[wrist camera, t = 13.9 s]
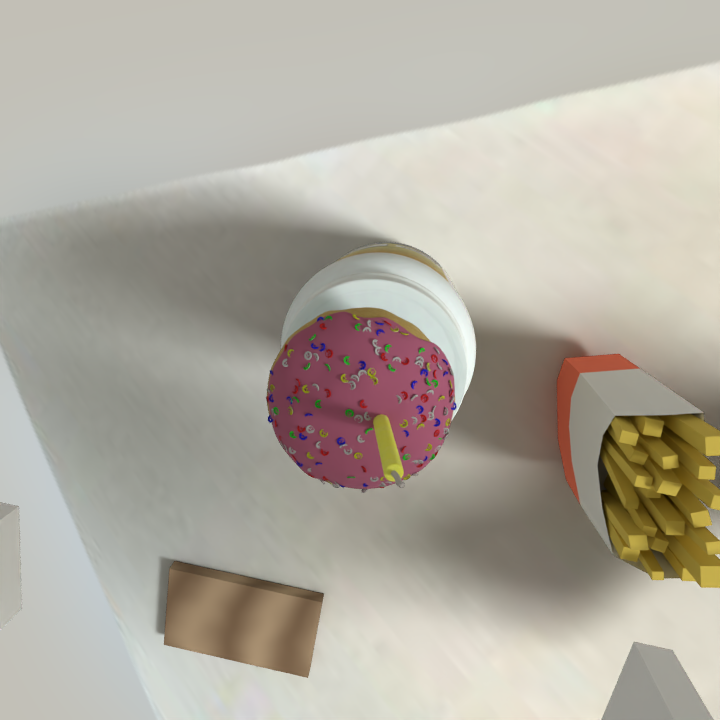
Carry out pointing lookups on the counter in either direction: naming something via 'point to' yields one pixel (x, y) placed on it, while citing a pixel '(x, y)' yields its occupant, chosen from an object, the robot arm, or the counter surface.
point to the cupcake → (361, 398)
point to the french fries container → (640, 467)
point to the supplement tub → (394, 300)
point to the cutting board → (241, 618)
